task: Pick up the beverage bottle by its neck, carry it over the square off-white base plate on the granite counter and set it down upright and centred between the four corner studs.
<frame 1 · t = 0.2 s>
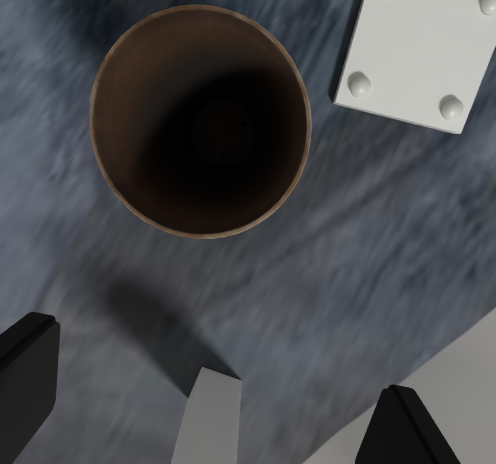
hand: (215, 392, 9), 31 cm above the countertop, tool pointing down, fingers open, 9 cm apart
plant pot: (223, 135, 38), on the countertop
base plate: (417, 49, 35), on the countertop
milk: (214, 388, 47), on the countertop
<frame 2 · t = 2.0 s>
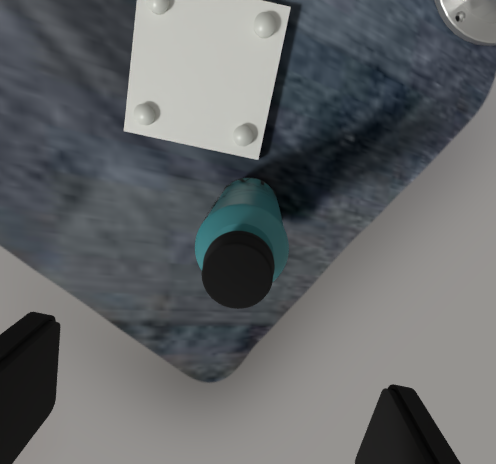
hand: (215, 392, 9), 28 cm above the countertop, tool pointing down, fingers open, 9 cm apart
base plate: (204, 74, 33), on the countertop
beverage bottle: (248, 204, 37), on the countertop
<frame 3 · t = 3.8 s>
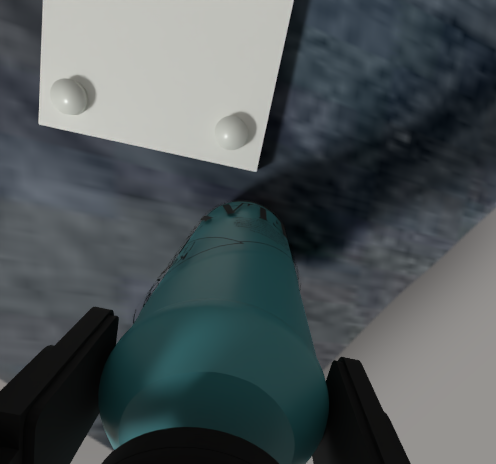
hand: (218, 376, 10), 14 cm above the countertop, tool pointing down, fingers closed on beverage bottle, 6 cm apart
base plate: (169, 32, 20), on the countertop
beverage bottle: (241, 238, 24), on the countertop, touching gripper
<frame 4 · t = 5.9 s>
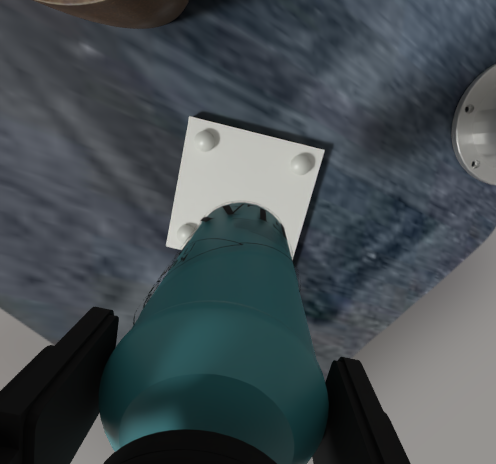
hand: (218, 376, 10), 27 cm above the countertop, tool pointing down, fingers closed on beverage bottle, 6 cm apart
base plate: (242, 198, 36), on the countertop
beverage bottle: (241, 239, 24), point 13 cm above the countertop, touching gripper
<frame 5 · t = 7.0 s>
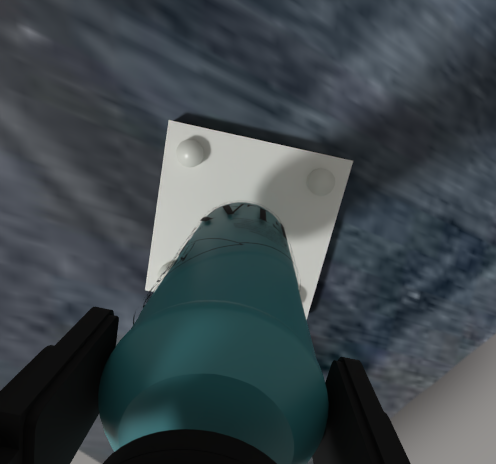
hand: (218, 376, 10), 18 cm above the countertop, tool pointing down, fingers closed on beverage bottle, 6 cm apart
base plate: (243, 225, 28), on the countertop
beverage bottle: (241, 239, 24), point 4 cm above the countertop, touching gripper
when the fingers open (16 cm above the countertop, at t = 7.9 s): beverage bottle stays where it is, resting on base plate.
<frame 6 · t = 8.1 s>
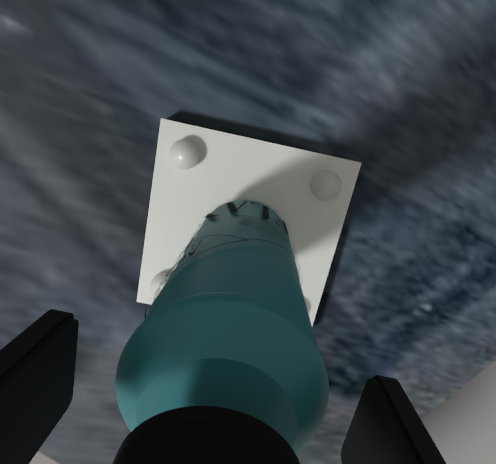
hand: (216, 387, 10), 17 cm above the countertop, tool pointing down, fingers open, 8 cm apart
base plate: (242, 232, 26), on the countertop
beverage bottle: (244, 235, 25), point 1 cm above the countertop, touching base plate
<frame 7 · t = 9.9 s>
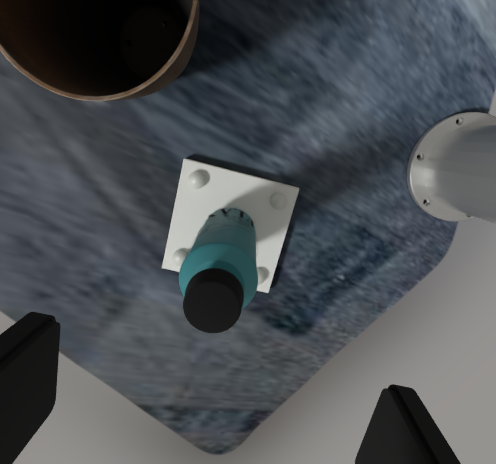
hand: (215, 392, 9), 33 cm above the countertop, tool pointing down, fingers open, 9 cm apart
plant pot: (152, 45, 37), on the countertop
base plate: (228, 227, 42), on the countertop
beverage bottle: (229, 229, 41), point 1 cm above the countertop, touching base plate
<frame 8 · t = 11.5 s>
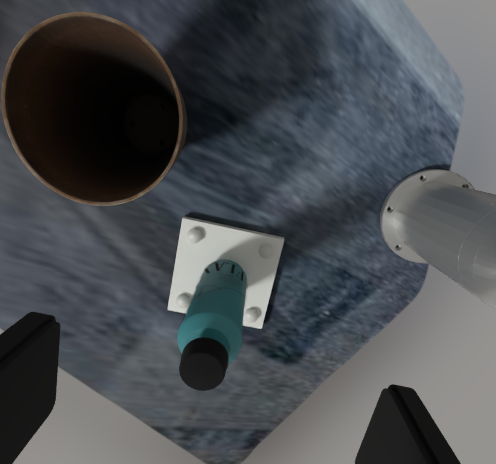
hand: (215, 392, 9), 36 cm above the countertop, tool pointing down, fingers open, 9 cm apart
plant pot: (152, 124, 43), on the countertop
base plate: (224, 272, 48), on the countertop
beverage bottle: (225, 275, 47), point 1 cm above the countertop, touching base plate
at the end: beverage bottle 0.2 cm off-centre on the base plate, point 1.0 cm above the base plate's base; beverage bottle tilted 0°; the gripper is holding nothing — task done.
